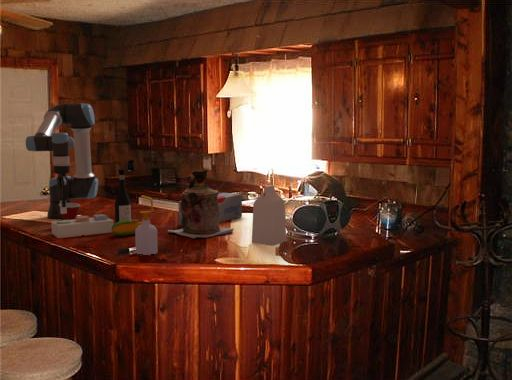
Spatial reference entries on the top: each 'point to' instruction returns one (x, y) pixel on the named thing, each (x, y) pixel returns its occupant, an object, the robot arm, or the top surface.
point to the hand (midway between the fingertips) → (63, 213)
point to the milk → (269, 218)
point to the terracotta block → (82, 218)
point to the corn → (125, 227)
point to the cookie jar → (200, 209)
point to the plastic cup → (71, 211)
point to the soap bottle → (146, 234)
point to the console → (81, 228)
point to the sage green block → (63, 222)
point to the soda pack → (225, 206)
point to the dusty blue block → (100, 217)
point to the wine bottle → (122, 201)
